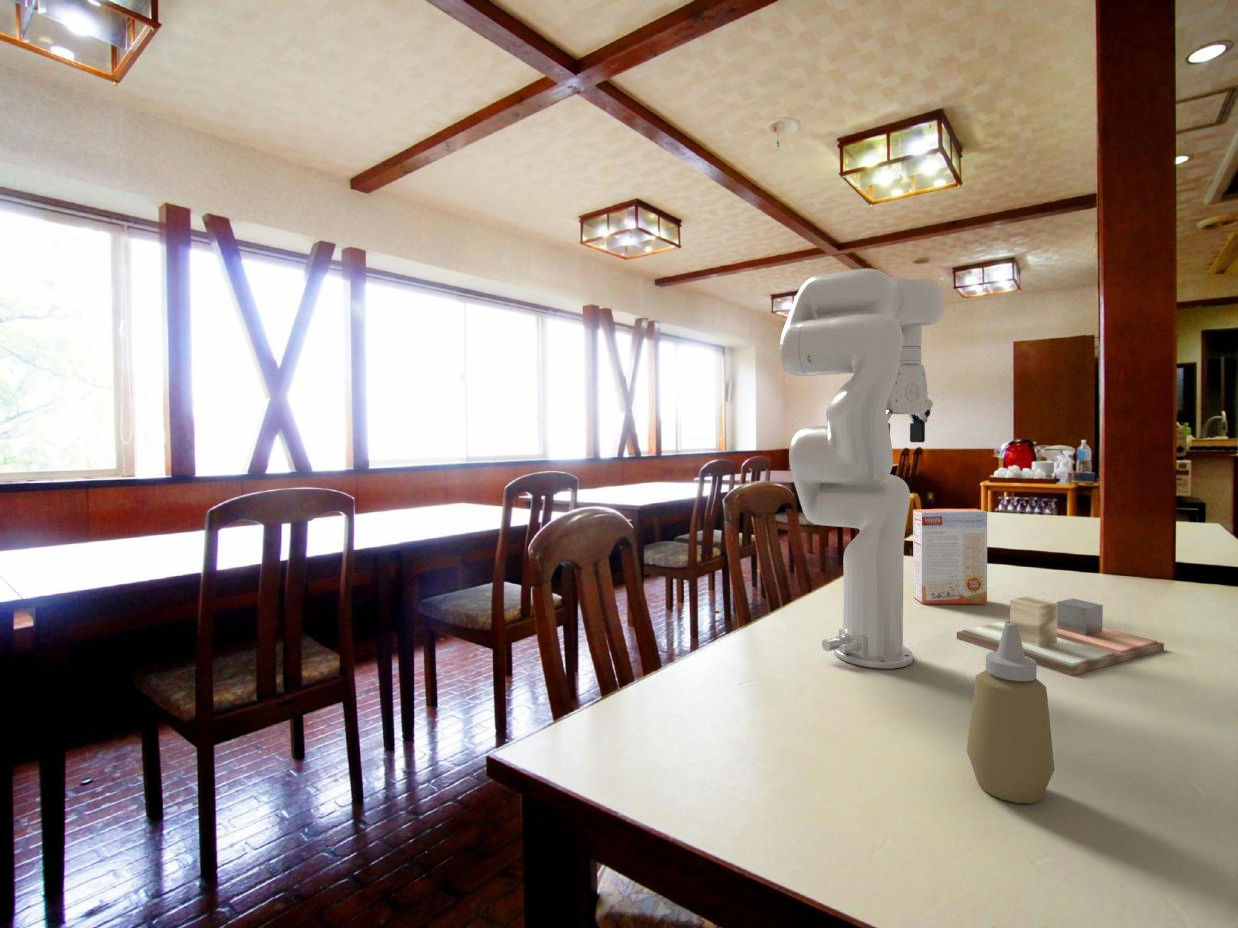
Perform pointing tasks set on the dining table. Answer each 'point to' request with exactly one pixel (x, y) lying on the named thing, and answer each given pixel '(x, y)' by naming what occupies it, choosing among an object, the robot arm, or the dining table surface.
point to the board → (1071, 648)
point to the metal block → (1079, 617)
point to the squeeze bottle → (1010, 725)
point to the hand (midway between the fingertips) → (900, 442)
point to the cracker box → (950, 556)
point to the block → (1035, 620)
